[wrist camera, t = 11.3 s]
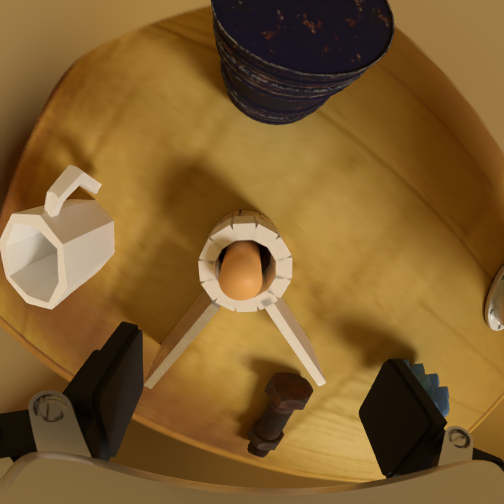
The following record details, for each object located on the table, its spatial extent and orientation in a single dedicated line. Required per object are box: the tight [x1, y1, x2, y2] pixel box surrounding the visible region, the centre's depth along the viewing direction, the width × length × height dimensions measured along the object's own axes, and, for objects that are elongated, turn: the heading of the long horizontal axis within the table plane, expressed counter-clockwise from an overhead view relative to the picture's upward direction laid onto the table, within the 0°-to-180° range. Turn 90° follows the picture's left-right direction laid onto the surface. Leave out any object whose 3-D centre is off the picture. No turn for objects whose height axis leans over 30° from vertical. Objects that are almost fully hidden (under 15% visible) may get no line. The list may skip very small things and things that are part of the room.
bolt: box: [247, 372, 313, 457], centre depth 33 cm, size 6×5×15 cm
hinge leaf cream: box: [198, 216, 326, 386], centre depth 26 cm, size 17×7×7 cm, turn 31°
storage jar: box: [211, 0, 394, 125], centre depth 17 cm, size 10×10×15 cm
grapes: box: [404, 360, 449, 417], centre depth 28 cm, size 12×7×12 cm, turn 69°
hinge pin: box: [219, 240, 262, 301], centre depth 24 cm, size 3×3×9 cm
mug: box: [0, 165, 115, 309], centre depth 22 cm, size 12×9×10 cm
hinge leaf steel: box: [144, 209, 281, 389], centre depth 26 cm, size 7×19×7 cm, turn 141°
